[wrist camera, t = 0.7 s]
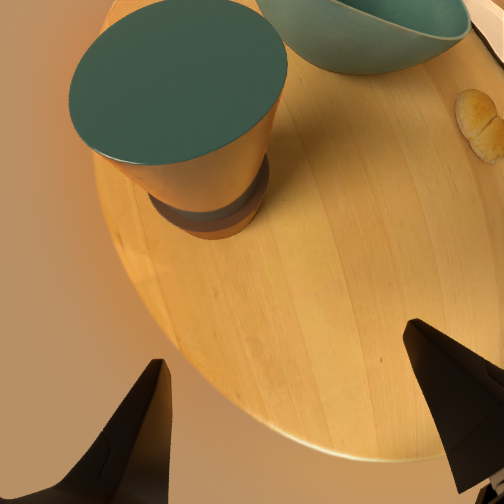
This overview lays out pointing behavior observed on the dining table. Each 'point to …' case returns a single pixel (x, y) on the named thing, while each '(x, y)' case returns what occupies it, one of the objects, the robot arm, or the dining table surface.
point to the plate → (488, 25)
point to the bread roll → (480, 125)
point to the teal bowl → (368, 31)
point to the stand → (224, 225)
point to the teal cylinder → (183, 101)
